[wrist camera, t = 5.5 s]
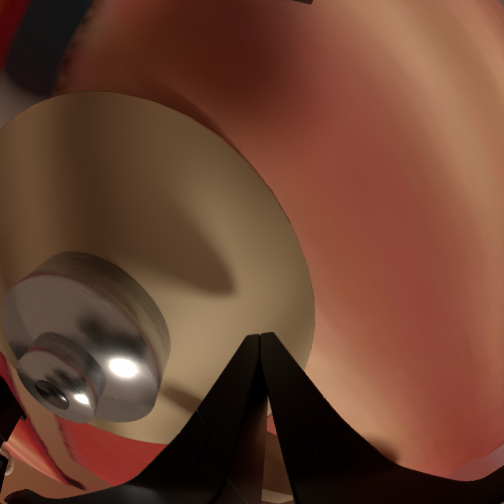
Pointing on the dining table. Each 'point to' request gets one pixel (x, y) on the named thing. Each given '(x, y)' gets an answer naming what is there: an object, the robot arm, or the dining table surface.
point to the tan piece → (158, 239)
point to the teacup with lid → (9, 460)
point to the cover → (87, 339)
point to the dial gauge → (305, 1)
